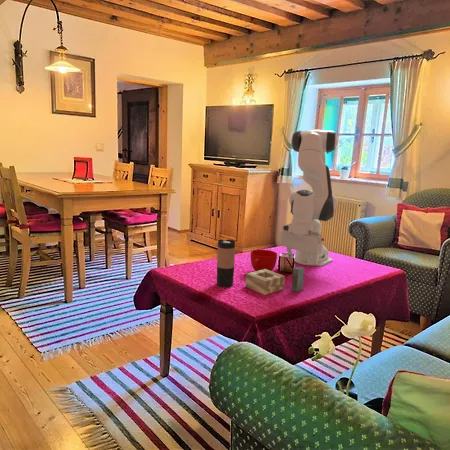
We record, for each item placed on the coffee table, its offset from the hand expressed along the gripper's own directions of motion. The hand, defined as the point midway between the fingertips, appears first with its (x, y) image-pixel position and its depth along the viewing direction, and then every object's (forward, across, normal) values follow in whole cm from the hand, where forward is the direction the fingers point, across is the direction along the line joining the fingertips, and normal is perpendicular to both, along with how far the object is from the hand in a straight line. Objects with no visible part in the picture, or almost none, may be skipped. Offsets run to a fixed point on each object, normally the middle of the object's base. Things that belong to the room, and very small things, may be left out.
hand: (298, 260), depth 173 cm
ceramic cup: (+14, +25, -4) cm, 29 cm away
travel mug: (+14, +23, +22) cm, 35 cm away
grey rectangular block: (+14, 0, -1) cm, 14 cm away
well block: (+14, +10, +9) cm, 19 cm away
